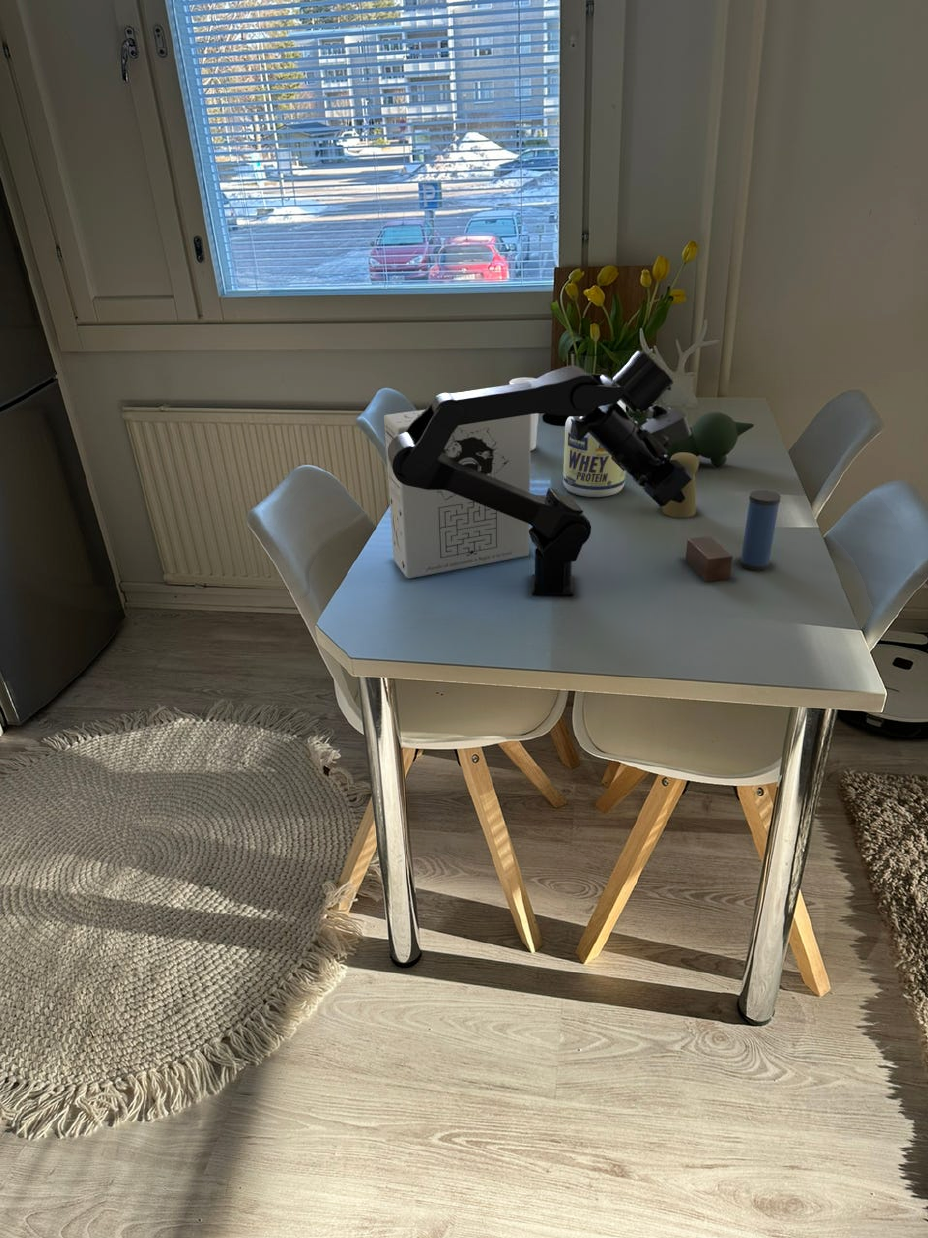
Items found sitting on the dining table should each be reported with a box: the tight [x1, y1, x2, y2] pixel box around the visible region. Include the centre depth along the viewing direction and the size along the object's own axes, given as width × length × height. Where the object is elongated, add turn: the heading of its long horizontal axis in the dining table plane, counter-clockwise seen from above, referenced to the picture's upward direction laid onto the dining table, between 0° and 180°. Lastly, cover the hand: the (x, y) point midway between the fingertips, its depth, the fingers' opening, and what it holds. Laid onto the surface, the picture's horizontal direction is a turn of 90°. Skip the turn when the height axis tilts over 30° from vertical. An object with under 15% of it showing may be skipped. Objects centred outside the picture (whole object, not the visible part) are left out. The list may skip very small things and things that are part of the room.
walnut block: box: [684, 535, 733, 583], centre depth 140 cm, size 4×8×4 cm, turn 11°
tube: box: [739, 489, 782, 572], centre depth 140 cm, size 12×5×12 cm
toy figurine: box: [627, 385, 755, 467], centre depth 180 cm, size 9×19×25 cm
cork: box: [662, 452, 700, 519], centre depth 160 cm, size 6×6×11 cm
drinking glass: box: [508, 377, 540, 452], centre depth 192 cm, size 7×7×15 cm
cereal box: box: [383, 409, 531, 579], centre depth 141 cm, size 22×8×25 cm, turn 111°
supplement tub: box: [562, 400, 627, 498], centre depth 170 cm, size 12×12×17 cm
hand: (682, 500), depth 134 cm, fingers closed
